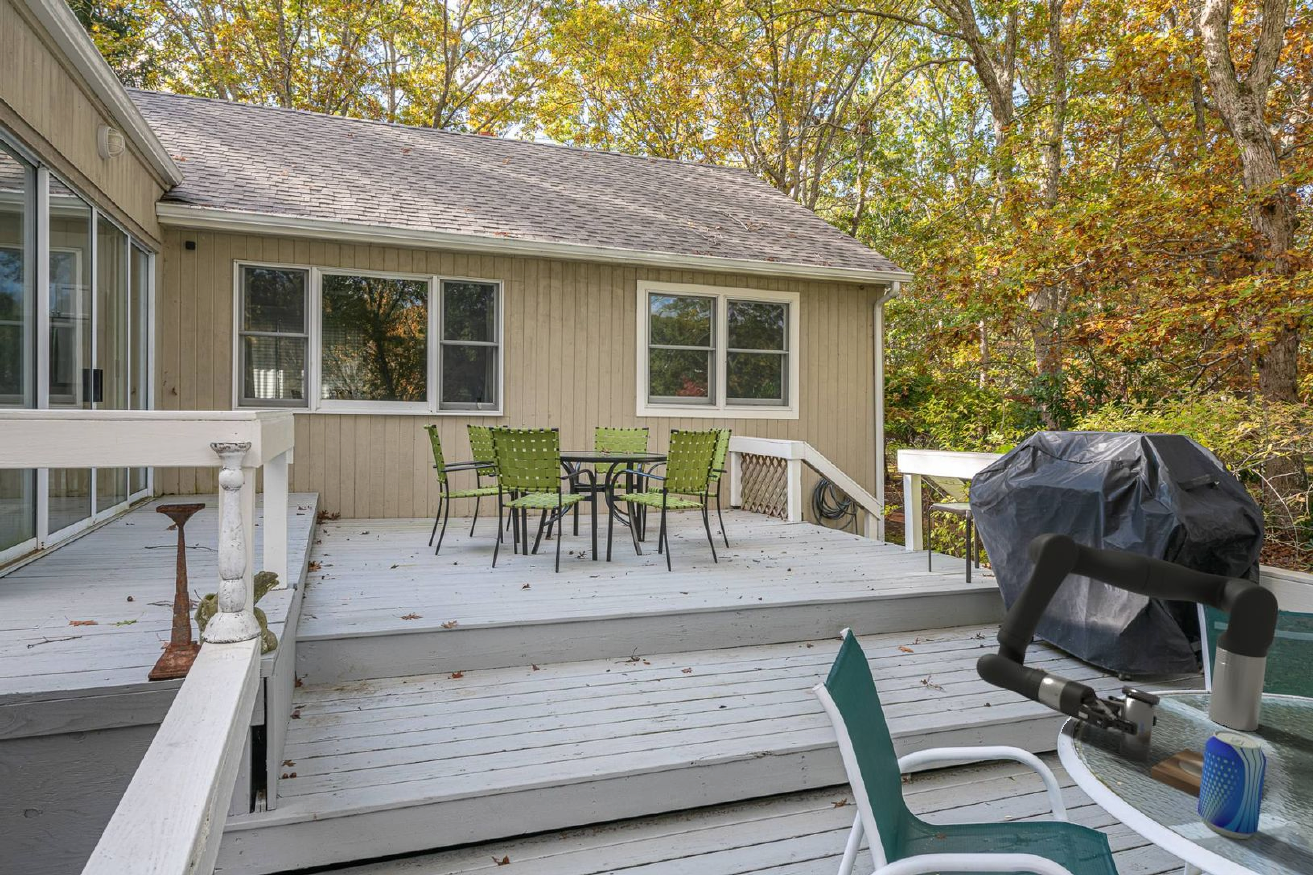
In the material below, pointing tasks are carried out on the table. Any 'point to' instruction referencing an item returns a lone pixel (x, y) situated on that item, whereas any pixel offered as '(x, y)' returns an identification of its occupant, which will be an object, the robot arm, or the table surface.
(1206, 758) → the beer can
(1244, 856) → the table surface
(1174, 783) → the block
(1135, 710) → the grey cylinder
